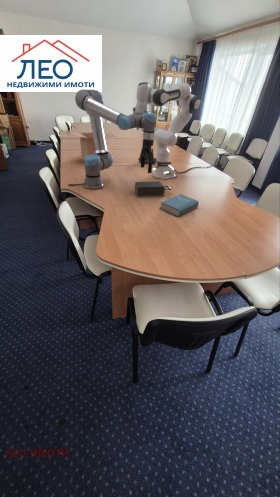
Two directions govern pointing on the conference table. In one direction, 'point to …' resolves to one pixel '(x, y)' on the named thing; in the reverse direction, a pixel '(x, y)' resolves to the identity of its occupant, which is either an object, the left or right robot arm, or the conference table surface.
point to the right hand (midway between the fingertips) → (140, 130)
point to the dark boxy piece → (149, 189)
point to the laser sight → (147, 159)
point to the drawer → (166, 189)
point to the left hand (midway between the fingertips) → (145, 170)
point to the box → (87, 142)
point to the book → (179, 204)
